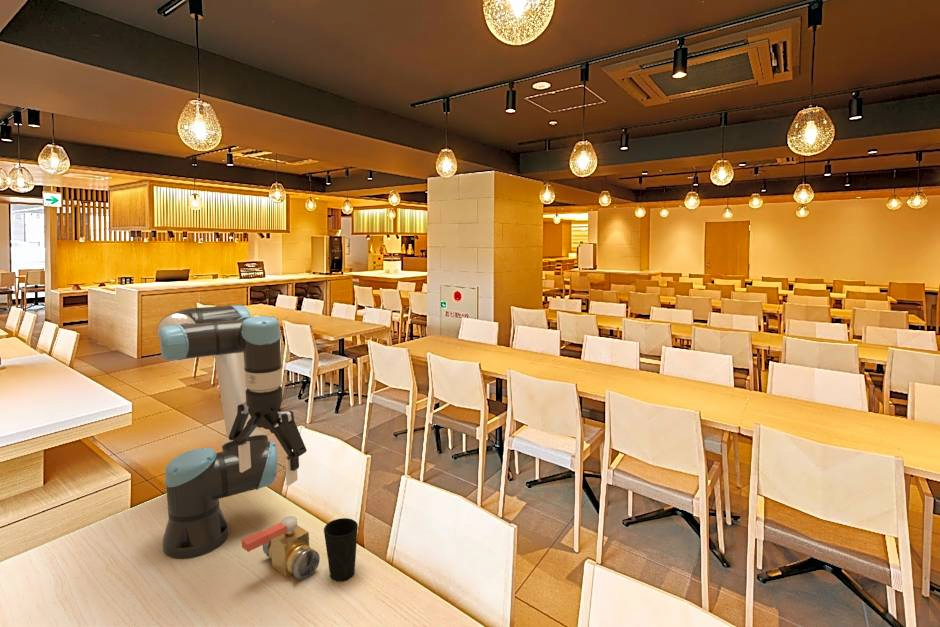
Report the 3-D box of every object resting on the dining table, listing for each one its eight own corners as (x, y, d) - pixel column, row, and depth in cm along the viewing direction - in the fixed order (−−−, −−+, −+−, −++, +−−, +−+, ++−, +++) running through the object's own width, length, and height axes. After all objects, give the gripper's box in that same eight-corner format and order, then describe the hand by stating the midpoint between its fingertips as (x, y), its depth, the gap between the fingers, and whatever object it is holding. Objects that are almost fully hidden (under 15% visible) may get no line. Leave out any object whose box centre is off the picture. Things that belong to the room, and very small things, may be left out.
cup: (350, 587, 117) (349, 538, 115) (319, 582, 118) (317, 534, 116) (364, 565, 124) (362, 520, 122) (334, 561, 126) (333, 516, 124)
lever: (291, 522, 125) (291, 514, 125) (300, 527, 123) (300, 519, 122) (240, 546, 115) (240, 538, 115) (249, 552, 113) (248, 544, 113)
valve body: (263, 560, 126) (261, 523, 124) (287, 547, 131) (285, 512, 129) (295, 585, 117) (293, 545, 116) (320, 570, 122) (318, 532, 121)
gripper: (207, 383, 114) (213, 471, 118) (297, 401, 105) (301, 496, 109) (234, 374, 121) (239, 458, 125) (321, 390, 112) (323, 480, 116)
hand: (268, 476), depth 117 cm, fingers open, 13 cm apart
